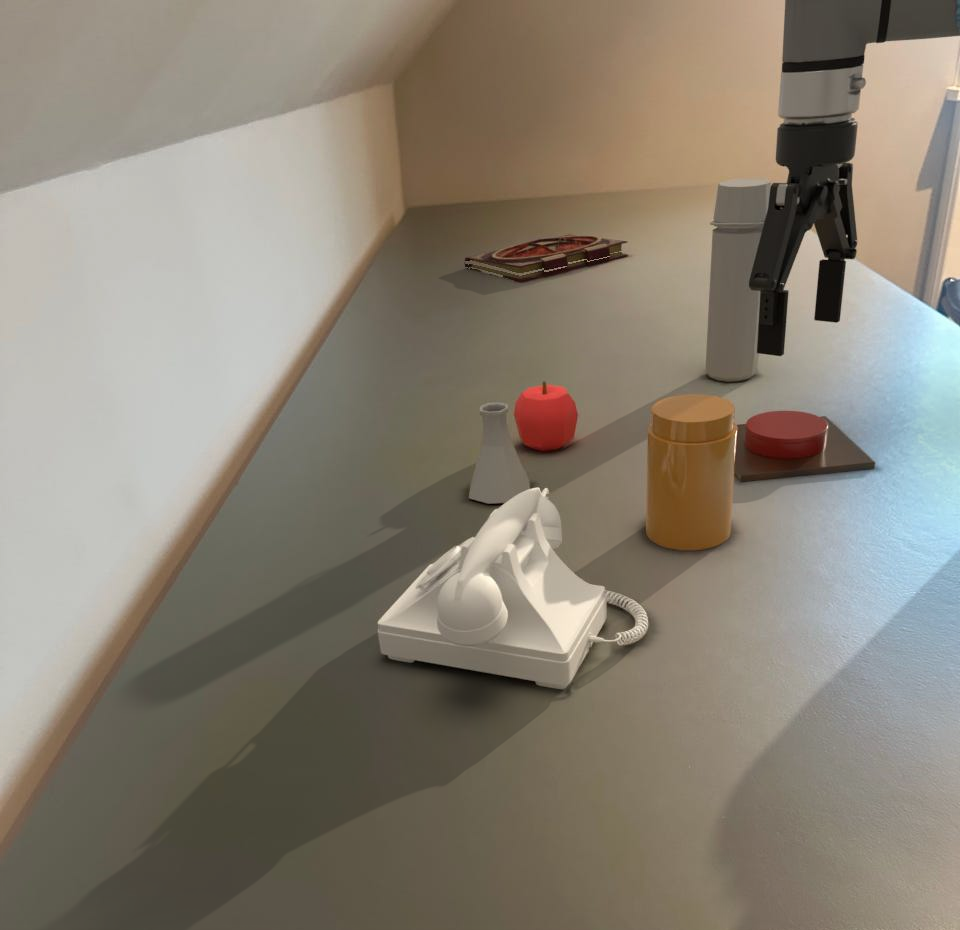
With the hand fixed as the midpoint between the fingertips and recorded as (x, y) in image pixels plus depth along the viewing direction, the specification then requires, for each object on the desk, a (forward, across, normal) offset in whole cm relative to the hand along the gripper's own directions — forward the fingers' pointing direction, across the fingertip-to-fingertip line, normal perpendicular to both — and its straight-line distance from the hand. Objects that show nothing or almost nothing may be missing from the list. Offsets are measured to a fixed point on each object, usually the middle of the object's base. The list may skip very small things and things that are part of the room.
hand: (799, 337), depth 107 cm
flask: (+13, -27, +22) cm, 37 cm away
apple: (+13, -13, +26) cm, 32 cm away
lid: (+10, 0, +1) cm, 11 cm away
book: (+13, +69, +90) cm, 114 cm away
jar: (+13, -24, -1) cm, 28 cm away
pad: (+13, 0, 0) cm, 13 cm away
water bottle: (+13, +22, +20) cm, 32 cm away
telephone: (+13, -48, +1) cm, 49 cm away
